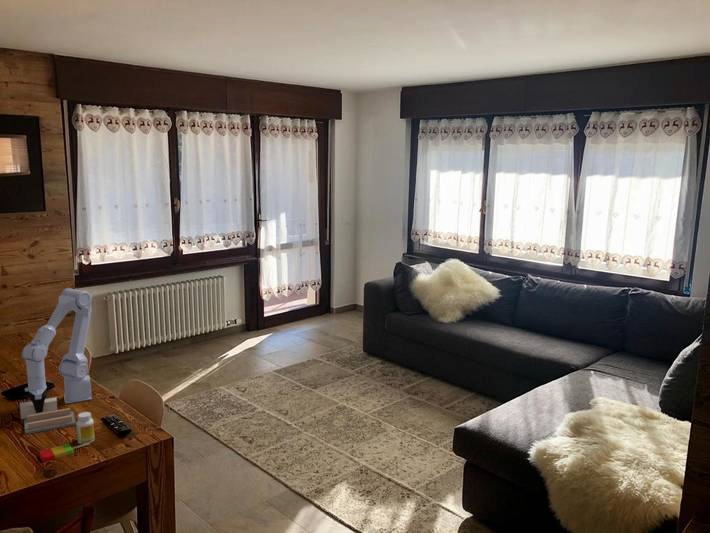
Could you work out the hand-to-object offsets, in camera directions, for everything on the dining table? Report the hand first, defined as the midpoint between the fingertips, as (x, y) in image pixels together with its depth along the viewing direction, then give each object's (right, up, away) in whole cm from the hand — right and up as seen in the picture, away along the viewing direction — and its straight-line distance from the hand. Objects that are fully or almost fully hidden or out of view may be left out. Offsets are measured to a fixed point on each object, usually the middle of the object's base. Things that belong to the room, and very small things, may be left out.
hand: (39, 410), depth 217 cm
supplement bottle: (+26, -6, -18) cm, 32 cm away
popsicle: (+22, -8, -25) cm, 34 cm away
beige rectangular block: (0, -2, 0) cm, 2 cm away
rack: (+8, -3, -7) cm, 11 cm away
